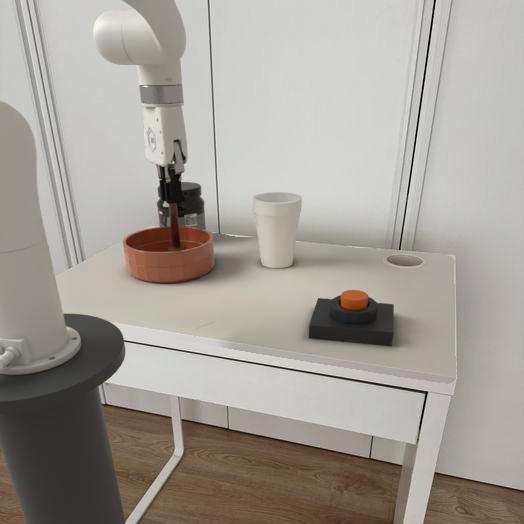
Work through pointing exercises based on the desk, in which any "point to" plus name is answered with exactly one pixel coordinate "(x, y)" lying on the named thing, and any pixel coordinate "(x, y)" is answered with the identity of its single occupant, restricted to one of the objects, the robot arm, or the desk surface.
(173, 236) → the flanged wooden peg
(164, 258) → the bowl
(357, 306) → the timer button
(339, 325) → the black flat block
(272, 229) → the foam cup
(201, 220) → the supplement container
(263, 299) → the desk surface
